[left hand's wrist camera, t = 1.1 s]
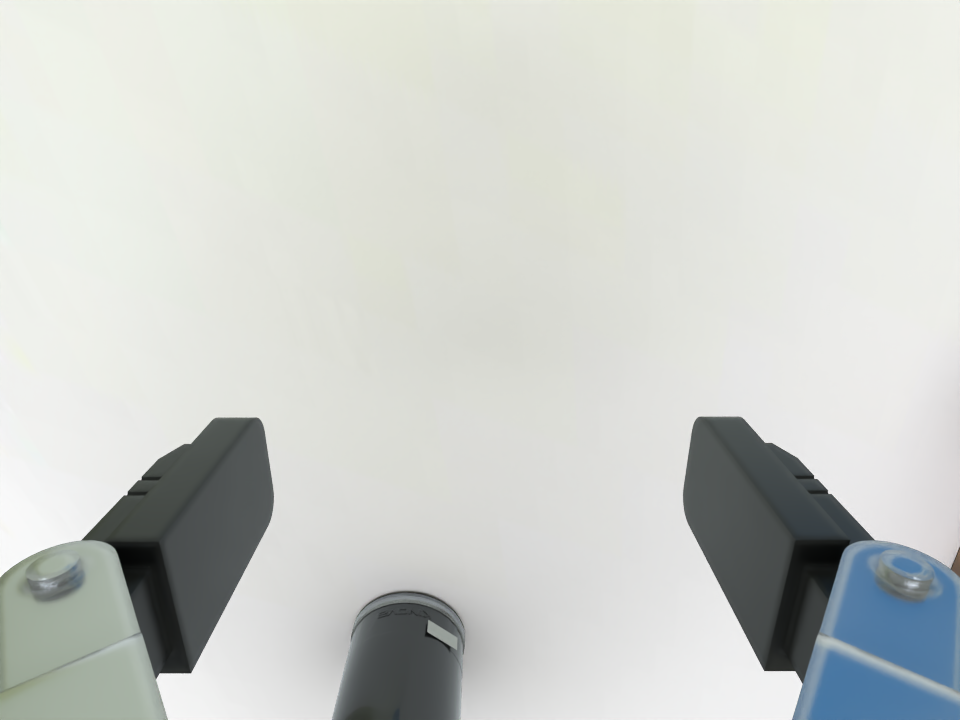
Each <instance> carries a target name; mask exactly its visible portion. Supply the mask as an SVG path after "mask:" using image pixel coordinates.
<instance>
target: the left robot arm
mask: <svg viewBox="0 0 960 720" xmlns="http://www.w3.org/2000/svg"><path fill="white" fill-rule="evenodd" d="M273 503H274V492H273V484H272V478H271V471H270V464H269V458H268V451H267V444H266V438H265V431H264V427H263V424H262V422H261V420H260V419H259V418H215V419H213V420H212V421H211V422H210V424H209V425H208V426H207V427H206V428H205V429H204V430H203V431H202V432H201V434H200V435H199V436H198V437H197V438H196V439H195V440H194V441H193V443H192V444H184V445H182V446H180V447H179V448H177V449H175V450H174V451H172V452H170V453H168V454H167V455H165V456H163V457H162V458H160V459H158V460H157V461H156V462H155V464H154V465H153V466H152V467H151V468H150V469H149V470H148V471H147V472H146V473H145V474H144V475H143V476H142V480H138V481H137V482H136V483H135V485H134V486H133V487H132V488H131V489H130V490H129V491H128V495H127V496H123V497H122V498H121V499H120V500H119V501H118V502H117V503H116V505H115V506H114V507H113V508H112V509H111V510H110V511H109V512H108V513H107V514H106V515H105V516H104V517H103V518H102V519H101V520H100V521H99V522H98V523H97V525H96V526H95V527H94V528H93V529H92V530H91V531H90V532H89V533H88V534H87V535H86V536H85V537H84V538H83V539H82V540H81V541H75V542H69V543H65V544H61V545H57V546H54V547H51V548H48V549H45V550H43V551H40V552H38V553H36V554H34V555H32V556H30V557H28V558H26V559H24V560H22V561H21V562H19V563H18V564H16V565H15V566H13V567H12V568H11V569H9V570H8V571H7V572H6V573H4V574H3V575H2V576H1V577H0V720H168V719H167V716H166V712H165V709H164V706H163V702H162V699H161V695H160V692H159V689H158V685H157V682H156V678H157V677H158V675H159V673H191V672H192V670H193V668H194V667H195V665H196V663H197V661H198V659H199V657H200V655H201V653H202V651H203V649H204V647H205V646H206V644H207V642H208V640H209V638H210V636H211V634H212V632H213V630H214V628H215V626H216V624H217V623H218V621H219V619H220V617H221V615H222V613H223V611H224V609H225V607H226V605H227V603H228V602H229V600H230V598H231V596H232V594H233V592H234V590H235V588H236V586H237V584H238V582H239V581H240V579H241V577H242V575H243V573H244V571H245V569H246V567H247V565H248V563H249V561H250V560H251V558H252V556H253V554H254V552H255V550H256V548H257V546H258V544H259V542H260V540H261V538H262V537H263V535H264V533H265V531H266V529H267V527H268V525H269V523H270V520H271V516H272V511H273ZM683 503H684V511H685V515H686V519H687V522H688V524H689V526H690V528H691V530H692V532H693V534H694V536H695V538H696V540H697V542H698V544H699V546H700V547H701V549H702V551H703V553H704V555H705V557H706V559H707V561H708V563H709V565H710V567H711V569H712V571H713V573H714V575H715V577H716V578H717V580H718V582H719V584H720V586H721V588H722V590H723V592H724V594H725V596H726V598H727V600H728V602H729V604H730V606H731V607H732V609H733V611H734V613H735V615H736V617H737V619H738V621H739V623H740V625H741V627H742V629H743V631H744V633H745V635H746V636H747V638H748V640H749V642H750V644H751V646H752V648H753V650H754V652H755V654H756V656H757V658H758V660H759V662H760V664H761V665H762V667H763V669H764V671H796V673H797V675H798V676H799V678H800V680H801V682H802V683H803V685H802V689H801V692H800V695H799V699H798V702H797V706H796V709H795V712H794V716H793V719H792V720H960V577H959V576H958V575H957V574H956V573H954V572H953V571H952V570H951V569H949V568H948V567H947V566H945V565H944V564H942V563H941V562H939V561H938V560H936V559H934V558H932V557H930V556H928V555H926V554H924V553H922V552H920V551H917V550H915V549H912V548H909V547H906V546H903V545H899V544H895V543H891V542H885V541H875V540H874V539H873V538H872V537H871V536H870V535H869V534H868V532H867V531H866V530H865V529H864V528H863V527H862V526H861V525H860V524H859V523H858V522H857V521H856V520H855V519H854V518H853V517H852V515H851V514H850V513H849V512H848V511H847V510H846V509H845V508H844V507H843V506H842V505H841V504H840V503H839V502H838V501H837V500H836V498H835V497H834V496H833V495H832V494H828V490H827V489H826V488H825V487H824V486H823V485H822V484H821V483H820V481H819V480H818V479H814V475H813V474H812V473H811V472H810V471H809V470H808V469H807V468H806V467H805V466H804V464H803V463H802V462H801V461H800V460H799V459H798V458H796V457H795V456H793V455H791V454H790V453H788V452H786V451H785V450H783V449H781V448H779V447H778V446H776V445H774V444H773V443H764V441H763V440H762V439H761V438H760V437H759V436H758V435H757V433H756V432H755V431H754V430H753V429H752V428H751V427H750V426H749V424H748V423H747V422H746V421H745V420H744V419H743V418H741V417H698V418H697V419H696V420H695V422H694V425H693V429H692V435H691V442H690V449H689V455H688V462H687V469H686V476H685V482H684V490H683ZM464 643H465V633H464V628H463V625H462V623H461V620H460V619H459V617H458V616H457V615H456V613H455V612H454V611H453V610H452V609H451V608H450V607H448V606H447V605H446V604H444V603H442V602H441V601H439V600H437V599H435V598H432V597H429V596H426V595H421V594H415V593H397V594H391V595H387V596H384V597H381V598H379V599H377V600H375V601H373V602H371V603H370V604H368V605H367V606H366V607H365V608H364V609H363V610H362V611H361V612H360V613H359V615H358V617H357V618H356V621H355V623H354V627H353V632H352V636H351V645H350V649H349V653H348V657H347V661H346V664H345V668H344V672H343V677H342V681H341V685H340V689H339V693H338V697H337V701H336V705H335V709H334V713H333V718H332V720H460V718H461V689H462V664H463V653H464Z"/></svg>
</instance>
